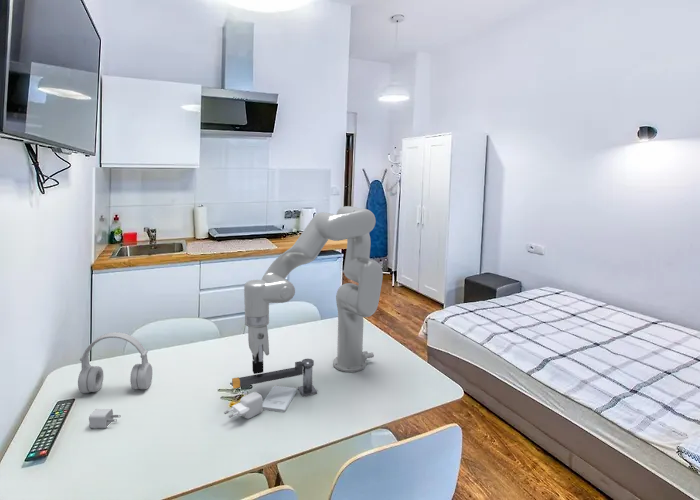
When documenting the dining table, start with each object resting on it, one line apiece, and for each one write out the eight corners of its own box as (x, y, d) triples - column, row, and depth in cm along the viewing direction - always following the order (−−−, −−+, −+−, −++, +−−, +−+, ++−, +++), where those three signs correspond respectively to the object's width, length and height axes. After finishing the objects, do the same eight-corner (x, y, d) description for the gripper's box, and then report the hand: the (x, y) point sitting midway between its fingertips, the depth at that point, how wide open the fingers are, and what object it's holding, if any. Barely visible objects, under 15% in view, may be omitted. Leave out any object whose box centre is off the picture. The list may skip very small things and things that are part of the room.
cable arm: (311, 368, 136) (311, 357, 135) (315, 373, 132) (315, 362, 132) (231, 383, 125) (231, 372, 124) (233, 390, 122) (233, 378, 121)
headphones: (154, 380, 139) (150, 327, 135) (146, 394, 131) (142, 337, 127) (90, 384, 135) (84, 330, 132) (78, 398, 127) (71, 341, 123)
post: (312, 386, 138) (312, 361, 136) (317, 393, 134) (317, 367, 132) (297, 389, 136) (298, 363, 134) (302, 396, 131) (302, 370, 130)
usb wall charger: (98, 420, 117) (96, 407, 116) (122, 420, 117) (121, 407, 116) (90, 429, 113) (88, 416, 112) (115, 429, 113) (114, 416, 112)
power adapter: (231, 429, 114) (231, 410, 113) (222, 422, 117) (221, 403, 116) (264, 413, 122) (264, 395, 121) (255, 406, 125) (254, 389, 124)
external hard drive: (296, 392, 135) (284, 414, 123) (273, 389, 136) (259, 410, 124) (296, 388, 135) (284, 409, 123) (273, 385, 136) (259, 406, 124)
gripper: (274, 325, 124) (275, 380, 127) (263, 310, 137) (264, 360, 140) (249, 328, 121) (250, 385, 124) (240, 312, 134) (242, 364, 137)
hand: (258, 372), depth 132 cm, fingers closed
